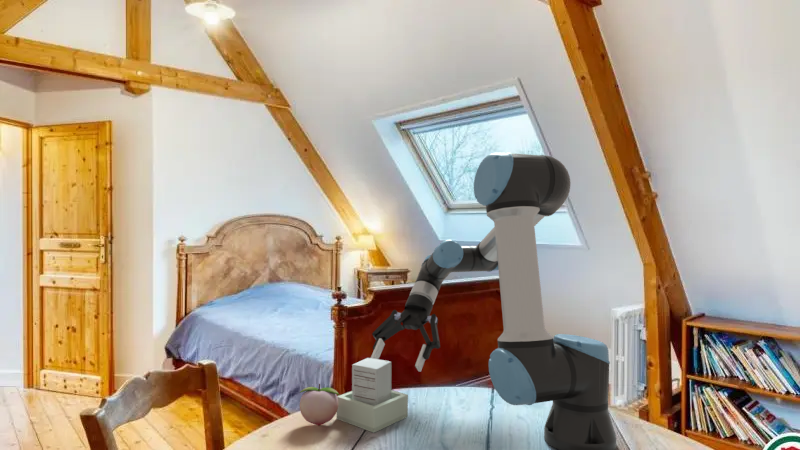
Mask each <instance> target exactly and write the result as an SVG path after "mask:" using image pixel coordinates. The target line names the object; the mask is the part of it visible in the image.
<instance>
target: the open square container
mask: <svg viewBox="0 0 800 450" xmlns="http://www.w3.org/2000/svg"><path fill="white" fill-rule="evenodd" d="M337 398H338V410H337V412H336V420H338V421H341V422H344V423H346V424H350V425H352V426H356V427H358V428H360V429H362V430H366V431H369V432H371V433H376V432H379V431H380V430H383V429H385V428H387V427H389V426H391V425H394V424H395V423H397V422H400V421H403V420H404V419H406V418H409V417H408V416H409V410H408V409H409V407H408V406H409V404H408V403H409V394H406V393H403V392H399V391H395V390H393V389H391V399H390V400H388V401H385V402H383V403H380V404H378V405H375V406H372V405H369V404H366V403H363V402H360V401H356V400H353V399H352V390H351V391H347V392H345V393H343V394H339V395H337Z"/></svg>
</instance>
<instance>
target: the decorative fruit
mask: <svg viewBox="0 0 800 450" xmlns="http://www.w3.org/2000/svg"><path fill="white" fill-rule="evenodd" d="M303 392H304V393H303ZM300 393H303V394H302V395H301V397H300V400H299V411H300V414H301V416H302V417H303V419H305V421H306V422H308V423H310V424H313V425H314V426H315V425H316V426H317V427H320V426H322V425H325V424H326V423H329V422H331V420H332V419H333V418H334V417H335V416H336V415H337V410H338V398H337V396H339V395H340V393H339V392H338V391H337V390H336V389H334V388H333V387H321V383H318V387H315V386H308V387H305V388H303V389H302V390H300V391H299V394H300Z"/></svg>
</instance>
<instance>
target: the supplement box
mask: <svg viewBox="0 0 800 450" xmlns="http://www.w3.org/2000/svg"><path fill="white" fill-rule="evenodd" d="M351 366H352V367H351V384H352V385H351V391H352V399H353V400H356V401H360V402H363V403H366V404H369V405H372V406H375V405H378V404H380V403H383V402H385V401H388V400H390V399H391V390H392V361H389V360H386V359H385V360H384V359H380V358H379V359H373V358H371V357H366V358H364V359H362V360H359V361H358V362H355V363H353V364H351Z"/></svg>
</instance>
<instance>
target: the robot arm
mask: <svg viewBox="0 0 800 450" xmlns="http://www.w3.org/2000/svg"><path fill="white" fill-rule="evenodd" d="M570 190H571V177H570V174H569V171H568V169H567V168H566V166H565V165H564V164H563V163H562V162H561V161H560V160H558V159H557V158H555V157H553V156H551V155H545V154H529V153H528V154H527V153H515V152H513V153H512V152H509V151H507V152H493V153H490V154H488V155H486V156H485V157H484V158H483V159H482V160H481V162H480V163H479V165H478V166H477V169H476V172H475V176H474V179H473V193H474V198H475V199H476V201H477V203H478V204H480V205H482V206H485V211H486V216H487V217H488V218H489V219H490V220H492V221H493V223H494V225H493V226H494V227H493V228H492V229H491V230H490V231H489V232H488V233H487V234H486V235H485V237H484V238H483V239H482V240H481V241H480V242H479V243H478V244H477V245H461V244H460V243H459V242H457V241H454V240H453V239H446V240H442V241H441V243H440V244H439V245H437V246H436V247H435V248H434V250H433V252H432V254H428V255H426V257H425V258H424V261H423V262H422V264H421V268H420V270H419V272H418V275H417V277H416V279H415V282H414V284H413V286H412V288H411V291H410V292H409V296H408V298H407V300H406V302H405V305H404V309H403V311H402V312H398V311H397V310H396V309H393V310H392V311H391V313H390V315H389V316H388V317H387V318H386V319H385V320H384V321H383V322H382V323H381V324H380V325H379V326H377V328H376V329H375V330H374V331H373V332H372V333H371V335H372V336H373V338H374V339H375V342H374V344H373V346H372V349H373V352H372V354H371V356H370V358H373V359H379V360H380V357H381V354H382V352H383V350H384V347H385V345H386V343H385V341H387V340H389V339H390V338H391V337H393V336H394V335H395V334H397V333H399V332H400V331H405V329H406V330H414V331H417V330H418V329H419V330H420V333H421V335H422V337H423V340H424V342H425V343H423V344H422V346H421V349H420V350H419V354H418V356H417V359H416V362H415V365H414V367H415V369H416V370H417V371H418V372H422V369H423V367H424V365H425V361H426V360H429V358H430V356H431V353H432V350H433V349H440V348H441V342H440V336H439V329H438V324H439V323H438V322H439V319H438V317H437V315H436V313H433V314H431V312H432V310H433V307H434V304H435V302H436V299H437V296H438V294H439V291H440V289H441V286H442V284H443V282H444V281H445V279H446V278H447V277H448V276H449V275H450V274H451V273H469V272H471V273H472V272H488V273H489V272H495V271H498V279H499V280H498V281H499V290H500V301H501V313H502V326H503V331H502V333H501V334H500V335H499V336H498V337H497V348H495V349H494V350H492V352H491V353H490V355H489V359H488V372H489V373H488V374H489V377H490V380H491V382H492V386H493V388H494V390H495V391H496V392H497V394H498V395H499V397H500V398H501V399H502V400H503V401H504V402H505V403H507V404H509V405H513V406H524V405H525V406H531V405H534V404H539V403H546V402H551V401H552V404H551V407H550V410H549V413H548V416H547V419H546V421H545V424H544V428H543V430H544V431H543V433H544V434H543V435H544V436H543V437H544V438H543V439H544V441H545V442H546V443H547V444H548V445H549V446H551V447H552V448H554V449H556V450H616V449H617V434H616V431H615V428H614V424H613V421H612V418H611V415H610V412H609V390H610V389H609V388H610V385H609V384H610V382H609V380H610V364H611V361H610V355H609V348H608V346H607V344H605V343H604V342H603V341H601V340H597V339H595V338H591V337H586V336H581V335H575V334H566V333H565V334H564V333H558V334H555V335H554V336H553V335H552V334H551V333H550V332H549V331H547V330H546V327H545V320H544V319H545V318H544V308H543V297H542V288H541V280H540V278H541V277H540V270H539V258H538V249H537V240H536V239H537V238H536V231H535V230H536V229H535V226H537V224H539V223H540V222H541V221H542V220H543V219H544V218H545V217H550V216H553V215H554V214H555V213H556V212H557V211H558V210H559V209H560V208H561V207H562V206H564V204H565V203H566V200H567V199H568V197H569V194H570ZM426 323H429V324H430V329H431V336H432V340H431V339H430V336H429V335H428V333H427V331H426V329H425V326H424V325H425V324H426Z"/></svg>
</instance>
